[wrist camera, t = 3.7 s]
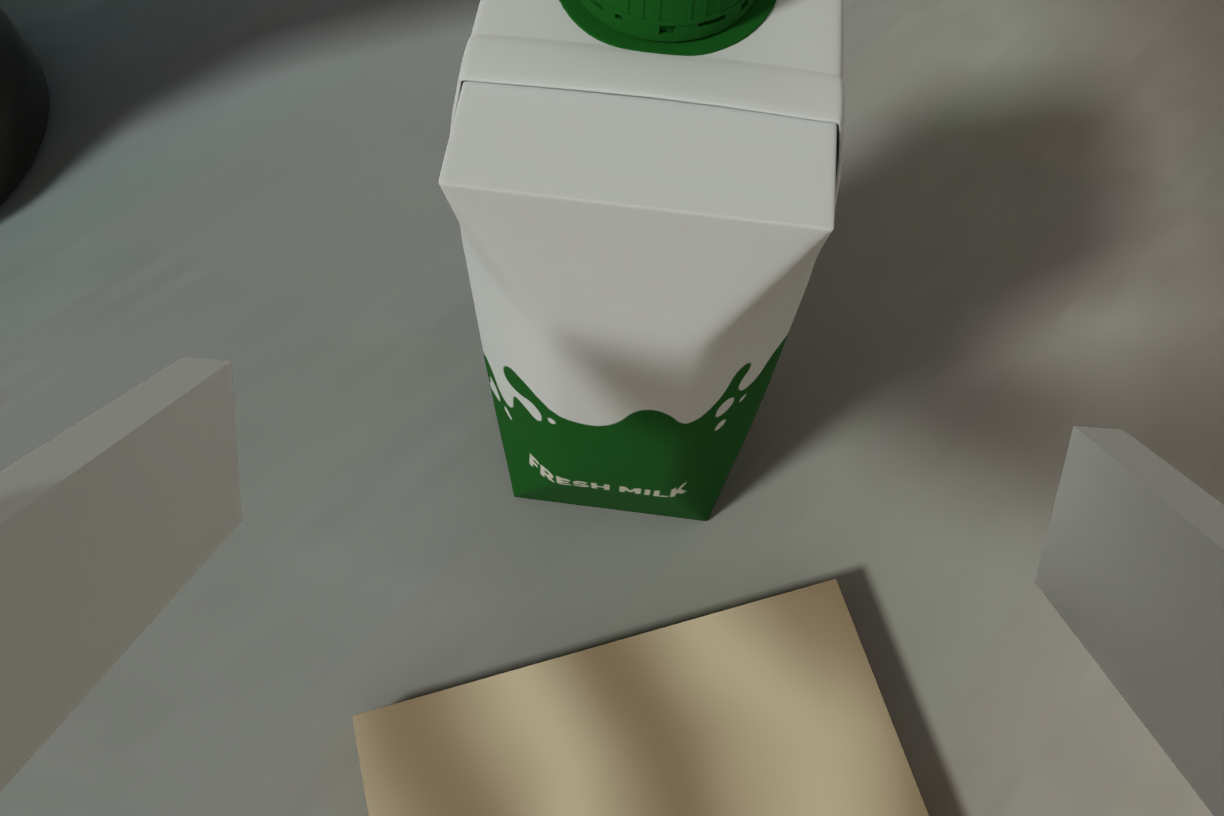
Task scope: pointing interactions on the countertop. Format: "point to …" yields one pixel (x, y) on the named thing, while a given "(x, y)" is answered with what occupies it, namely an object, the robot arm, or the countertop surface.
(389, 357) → the countertop surface
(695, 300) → the milk carton
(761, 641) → the oak board
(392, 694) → the countertop surface
